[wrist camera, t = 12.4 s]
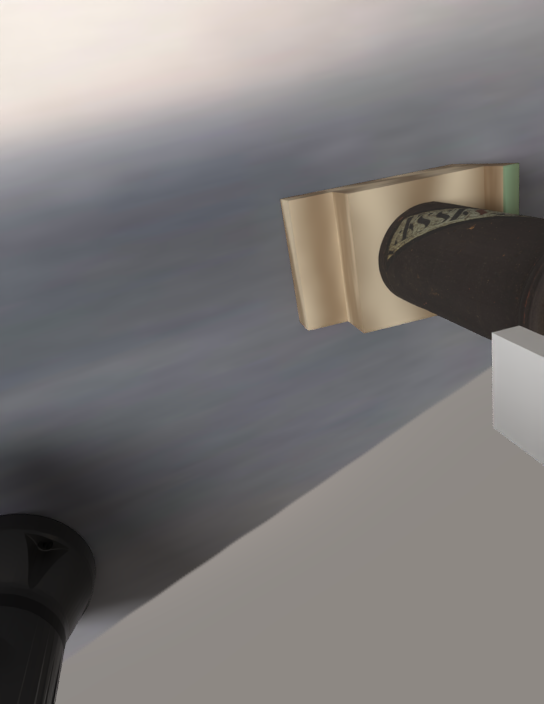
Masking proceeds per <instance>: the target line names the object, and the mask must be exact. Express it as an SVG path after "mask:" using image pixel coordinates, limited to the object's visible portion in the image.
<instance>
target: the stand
mask: <svg viewBox="0 0 544 704" xmlns="http://www.w3.org/2000/svg"><path fill="white" fill-rule="evenodd" d="M280 201H281V207H282V214H283V220H284V226H285V232H286V238H287V245H288V251H289V257H290V263H291V270H292V276H293V282H294V288H295V294H296V301H297V307H298V313H299V319H300V323H301V324H302V325H303V326H304V327H305V328H306V329H307V330H308V331H309V330H313V329H317V328H321V327H326V326H330V325H334V324H338V323H342V322H346V321H349V322H350V323H351V324H353V325H354V326H355V327H357V328H358V329H359V330H360V331H362V332H363V333H368V332H372V331H376V330H380V329H384V328H388V327H392V326H396V325H400V324H404V323H408V322H412V321H416V320H420V319H424V318H428V317H432V316H436V314H434V313H432V312H429V311H427V310H425V309H423V308H420V307H418V306H415V305H413V304H411V303H409V302H407V301H405V300H403V299H401V298H399V297H397V296H396V295H394V294H393V293H392V292H391V291H390V290H389V289H388V288H387V287H386V285H385V284H384V282H383V280H382V278H381V275H380V271H379V264H378V256H379V250H380V246H381V243H382V240H383V238H384V236H385V234H386V232H387V230H388V228H389V227H390V225H391V224H392V223H393V222H394V220H395V219H396V218H397V217H399V216H400V215H401V214H402V213H404V212H405V211H406V210H408V209H409V208H411V207H413V206H415V205H418V204H421V203H427V202H432V201H435V202H442V203H449V204H455V205H461V206H467V207H473V208H479V209H486V210H492V211H498V212H504V213H511V214H517V215H519V163H498V164H451V165H446V166H441V167H436V168H432V169H427V170H422V171H417V172H412V173H407V174H402V175H397V176H392V177H387V178H382V179H377V180H372V181H367V182H362V183H357V184H352V185H347V186H342V187H337V188H332V189H328V190H323V191H318V192H313V193H308V194H303V195H298V196H293V197H288V198H283V199H280Z"/></svg>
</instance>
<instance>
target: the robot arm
mask: <svg viewBox="0 0 544 704" xmlns="http://www.w3.org/2000/svg"><path fill="white" fill-rule="evenodd" d="M492 386H493V428H494V429H496V430H497V431H498V432H499V433H501V434H502V435H504V436H505V437H506V438H507V439H509V440H510V441H511V442H513V443H514V444H515V445H517V446H518V447H519V448H521V449H522V450H524V451H525V452H526V453H527V454H529V455H530V456H532V457H533V458H534V459H535V460H537V461H538V462H539V463H541V464H542V465H543V466H544V336H543V335H540V334H538V333H536V332H533V331H531V330H528V329H526V328H524V327H521V326H516V327H512V328H508V329H504V330H500V331H496V332H492ZM94 580H95V562H94V558H93V555H92V552H91V550H90V548H89V547H88V545H87V544H86V542H85V541H84V540H83V539H82V538H81V537H80V536H79V535H78V534H77V533H76V532H75V531H73V530H72V529H70V528H69V527H67V526H65V525H64V524H62V523H59V522H57V521H54V520H52V519H48V518H45V517H40V516H35V515H6V516H0V704H55V701H56V695H57V689H58V684H59V678H60V672H61V667H62V661H63V654H64V649H65V644H66V642H67V640H68V639H69V637H70V635H71V634H72V632H73V630H74V628H75V627H76V625H77V623H78V621H79V619H80V618H81V616H82V615H83V613H84V612H85V610H86V609H87V607H88V604H89V602H90V599H91V596H92V593H93V587H94Z"/></svg>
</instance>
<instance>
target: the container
mask: <svg viewBox="0 0 544 704" xmlns="http://www.w3.org/2000/svg"><path fill="white" fill-rule="evenodd" d="M378 264H379V271H380V275H381V278H382V280H383V282H384V284H385V285H386V287H387V288H388V289H389V290H390V291H391V292H392V293H393V294H394V295H396V296H397V297H399V298H401V299H403V300H405V301H407V302H409V303H411V304H413V305H415V306H418V307H420V308H423V309H425V310H427V311H429V312H432V313H434V314H436V315H438V316H441V317H443V318H445V319H447V320H449V321H451V322H454V323H456V324H458V325H460V326H462V327H464V328H466V329H468V330H471V331H473V332H475V333H477V334H479V335H481V336H483V337H486V338H488V339H490V340H492V332H496V331H500V330H504V329H508V328H512V327H516V326H521V327H524V328H526V329H528V330H531V331H533V332H536V333H538V334H540V335H543V336H544V219H541V218H536V217H529V216H523V215H517V214H511V213H504V212H498V211H492V210H486V209H479V208H473V207H467V206H461V205H455V204H449V203H442V202H435V201H432V202H427V203H421V204H418V205H415V206H413V207H411V208H409V209H408V210H406V211H405V212H404V213H402V214H401V215H400V216H399V217H397V218H396V219H395V220H394V222H393V223H392V224H391V225H390V227H389V228H388V230H387V232H386V234H385V236H384V238H383V240H382V243H381V246H380V250H379V256H378Z"/></svg>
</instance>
